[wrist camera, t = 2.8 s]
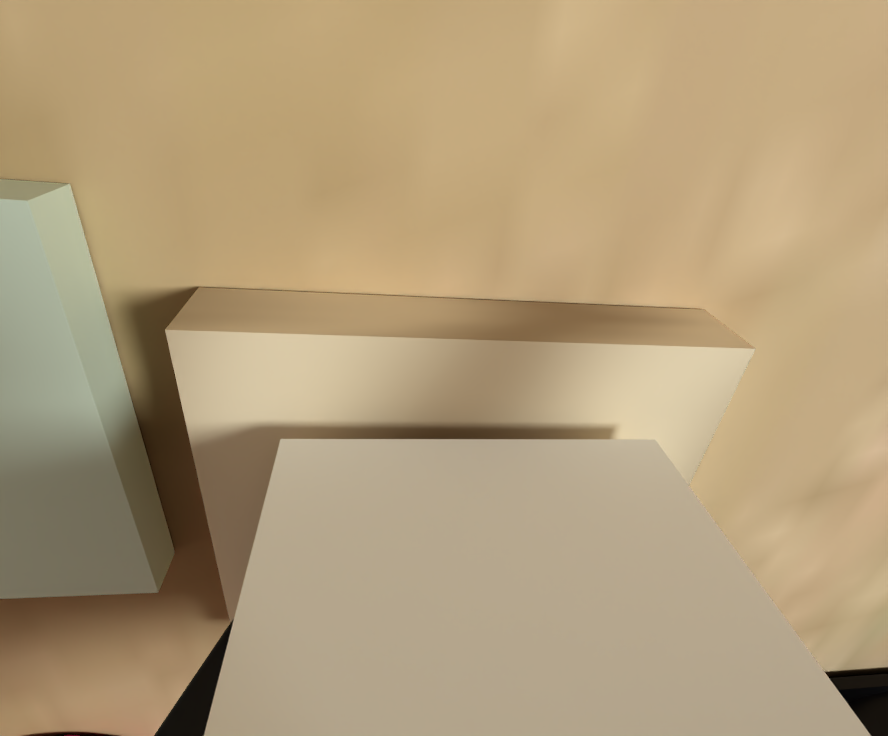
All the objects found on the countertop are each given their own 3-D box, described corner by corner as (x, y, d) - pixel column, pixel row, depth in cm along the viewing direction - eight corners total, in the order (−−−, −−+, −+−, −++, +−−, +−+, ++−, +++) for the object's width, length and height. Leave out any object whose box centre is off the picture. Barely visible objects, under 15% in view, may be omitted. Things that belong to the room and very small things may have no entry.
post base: (704, 309, 9) (1027, 556, 5) (587, 598, 14) (690, 866, 9) (199, 286, 8) (-50, 598, 3) (255, 614, 13) (184, 933, 8)
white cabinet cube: (655, 439, 8) (913, 794, 4) (572, 642, 11) (676, 957, 7) (280, 439, 7) (164, 886, 3) (302, 658, 10) (255, 1025, 6)
